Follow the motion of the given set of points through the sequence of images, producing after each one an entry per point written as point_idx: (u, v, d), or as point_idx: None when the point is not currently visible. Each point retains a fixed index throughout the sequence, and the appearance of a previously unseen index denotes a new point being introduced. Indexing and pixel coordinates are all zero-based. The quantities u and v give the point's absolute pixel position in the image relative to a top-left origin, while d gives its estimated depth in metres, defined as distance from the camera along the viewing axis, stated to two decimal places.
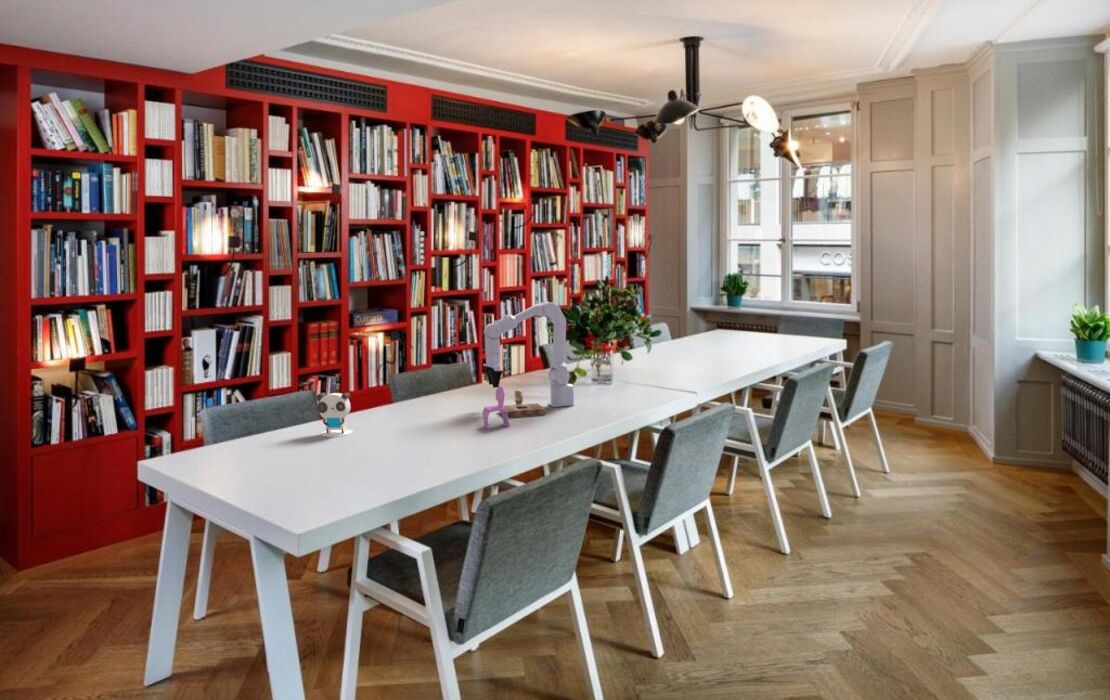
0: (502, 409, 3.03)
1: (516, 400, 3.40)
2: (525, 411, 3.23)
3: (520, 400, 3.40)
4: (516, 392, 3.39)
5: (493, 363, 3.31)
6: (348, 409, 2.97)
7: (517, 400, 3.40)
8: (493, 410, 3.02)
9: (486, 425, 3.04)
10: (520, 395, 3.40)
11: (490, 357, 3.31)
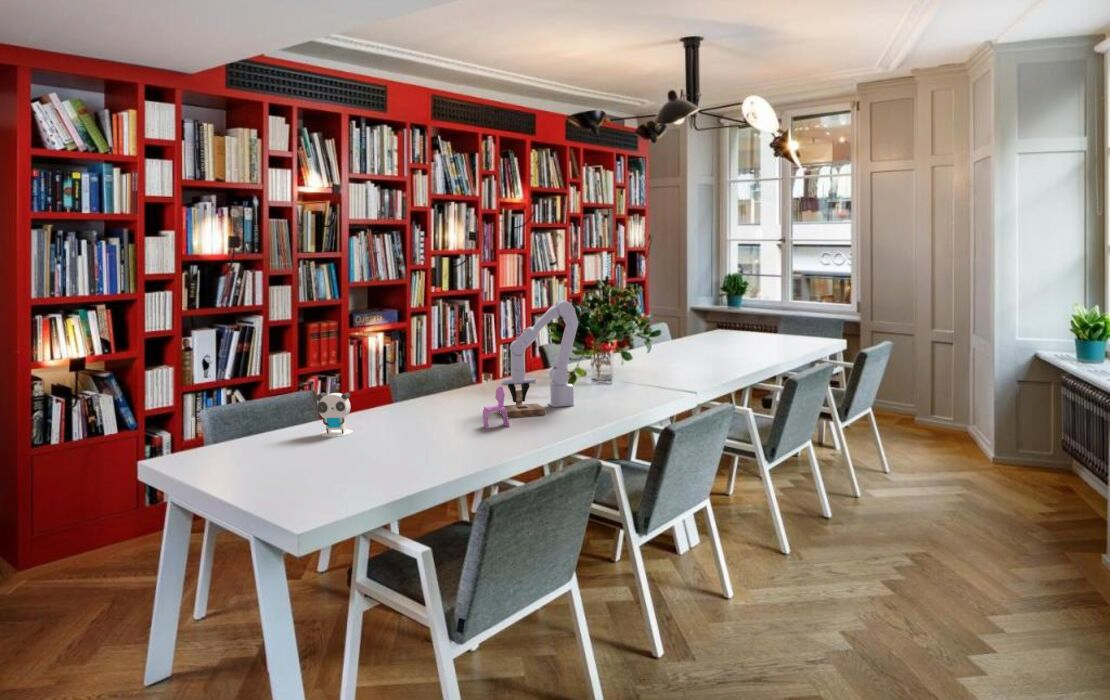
0: (502, 409, 3.03)
1: (516, 400, 3.40)
2: (525, 411, 3.23)
3: (520, 400, 3.40)
4: (516, 392, 3.39)
5: None
6: (348, 409, 2.97)
7: (517, 400, 3.40)
8: (493, 410, 3.02)
9: (486, 425, 3.04)
10: (520, 395, 3.40)
11: None
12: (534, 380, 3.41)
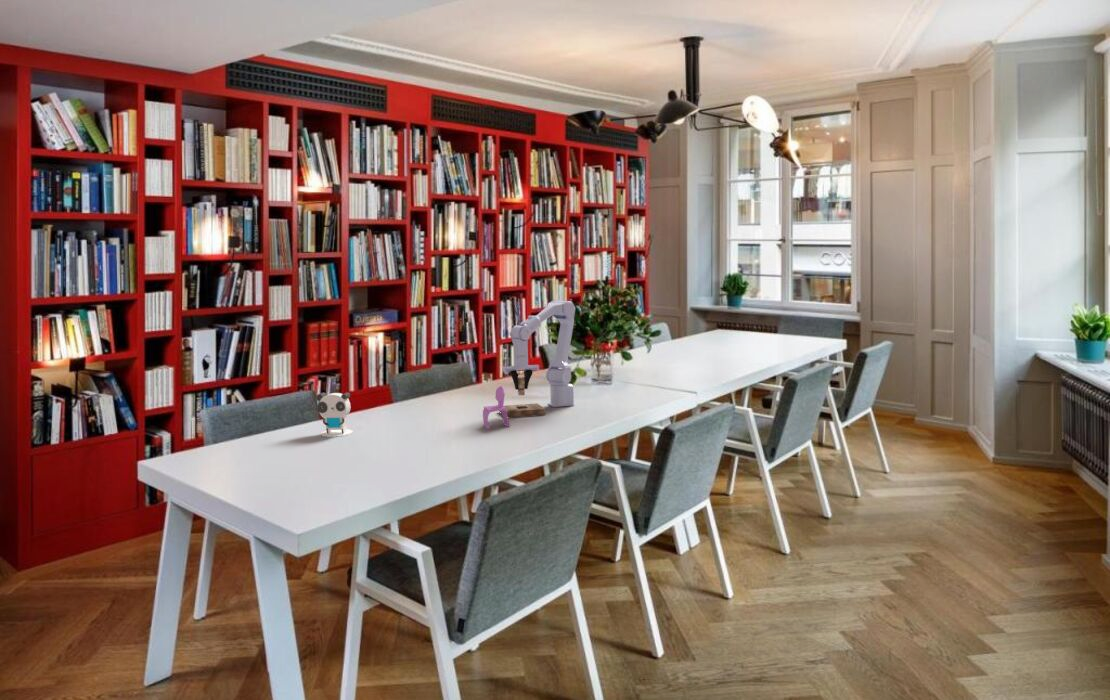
0: (502, 409, 3.03)
1: (518, 387, 3.27)
2: (525, 411, 3.23)
3: (522, 387, 3.27)
4: (518, 379, 3.27)
5: None
6: (348, 409, 2.97)
7: (519, 387, 3.27)
8: (493, 410, 3.02)
9: (486, 425, 3.04)
10: (522, 382, 3.27)
11: None
12: (537, 367, 3.28)
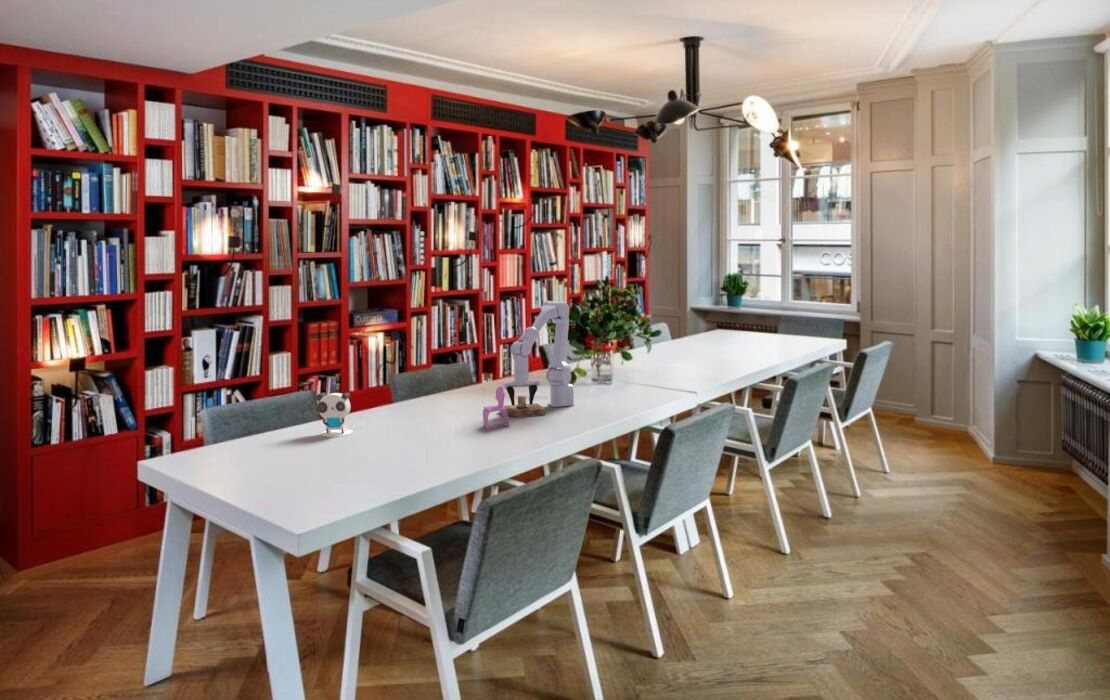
0: (502, 409, 3.03)
1: (519, 406, 3.27)
2: (525, 411, 3.23)
3: (523, 406, 3.27)
4: (519, 398, 3.27)
5: (514, 380, 3.27)
6: (348, 409, 2.97)
7: (520, 406, 3.27)
8: (493, 410, 3.02)
9: (486, 425, 3.04)
10: (523, 401, 3.27)
11: None
12: (538, 382, 3.28)
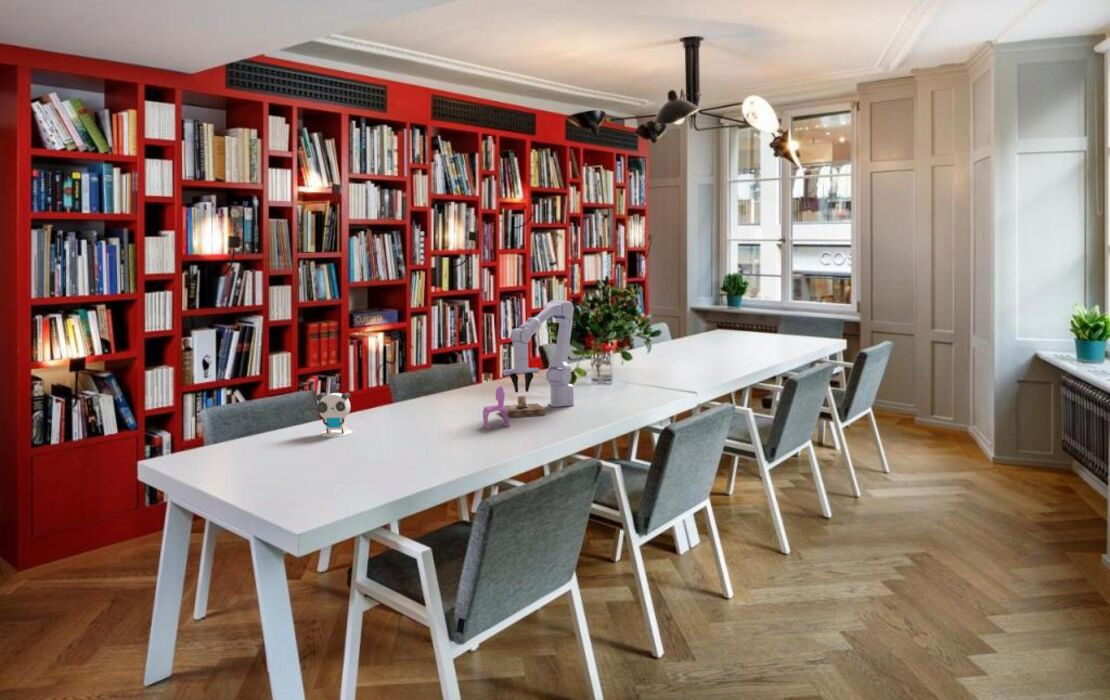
0: (502, 409, 3.03)
1: (519, 406, 3.27)
2: (525, 411, 3.23)
3: (523, 406, 3.27)
4: (519, 398, 3.27)
5: (514, 368, 3.26)
6: (348, 409, 2.97)
7: (520, 406, 3.27)
8: (493, 410, 3.02)
9: (486, 425, 3.04)
10: (523, 401, 3.27)
11: None
12: (538, 369, 3.27)
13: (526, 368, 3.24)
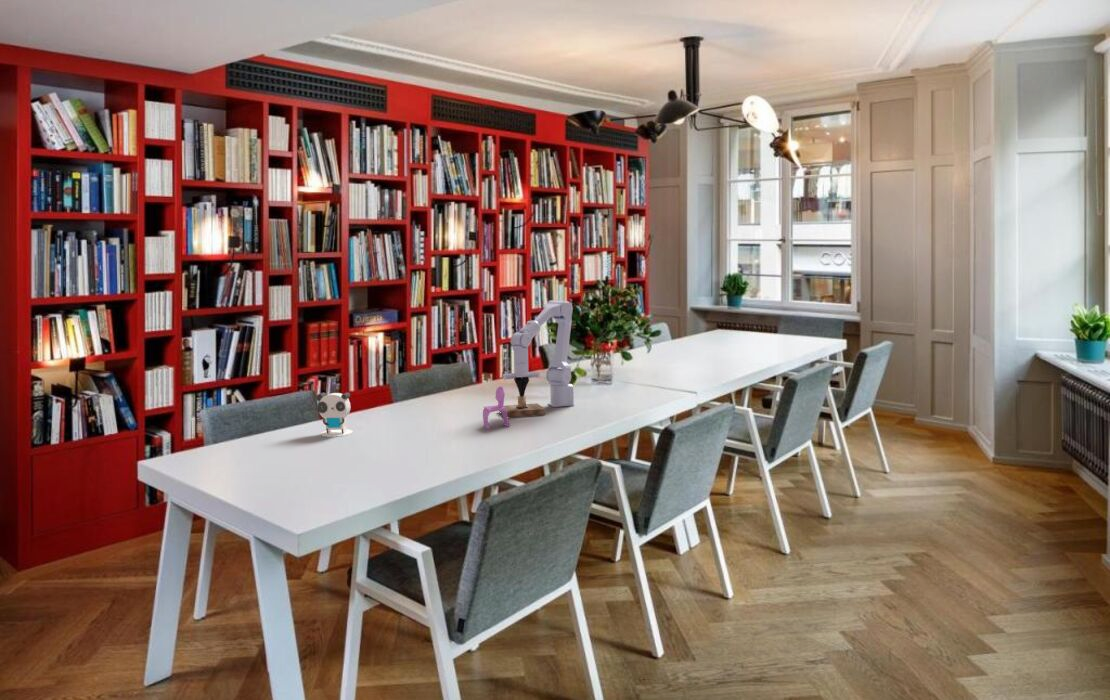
0: (502, 409, 3.03)
1: (519, 406, 3.27)
2: (525, 411, 3.23)
3: (523, 406, 3.27)
4: (519, 398, 3.27)
5: (514, 372, 3.26)
6: (348, 409, 2.97)
7: (520, 406, 3.27)
8: (493, 410, 3.02)
9: (486, 425, 3.04)
10: (523, 401, 3.27)
11: None
12: (538, 374, 3.27)
13: (526, 372, 3.25)
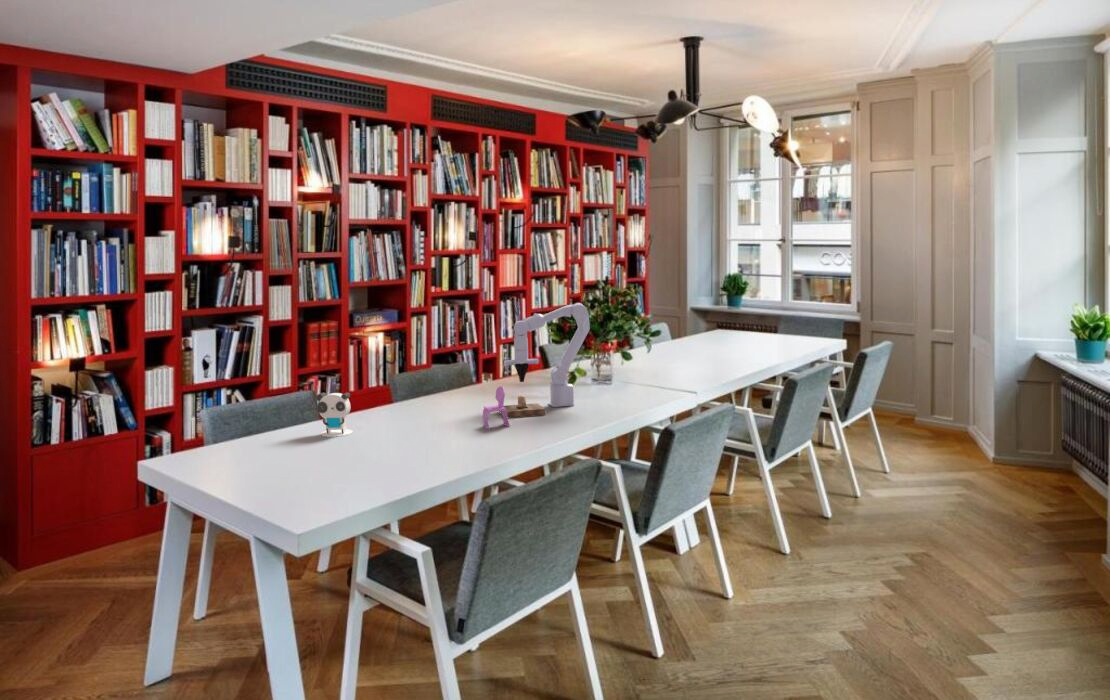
0: (502, 409, 3.03)
1: (519, 406, 3.27)
2: (525, 411, 3.23)
3: (523, 406, 3.27)
4: (519, 398, 3.27)
5: None
6: (348, 409, 2.97)
7: (520, 406, 3.27)
8: (493, 410, 3.02)
9: (486, 425, 3.04)
10: (523, 401, 3.27)
11: None
12: (537, 360, 3.42)
13: (526, 359, 3.40)
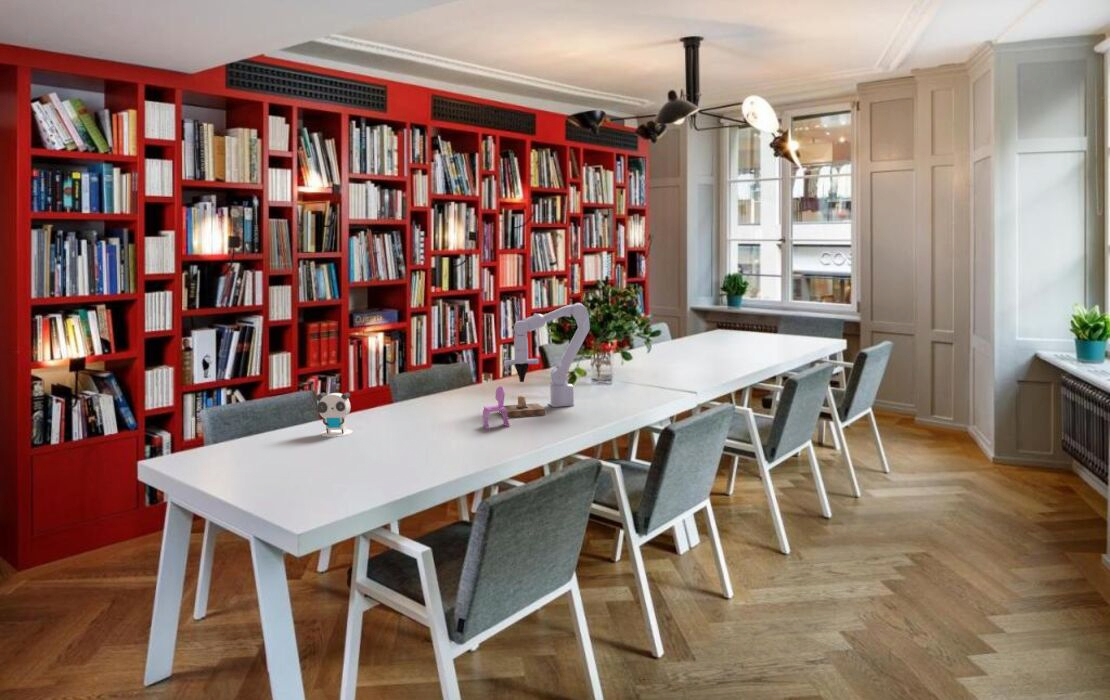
0: (502, 409, 3.03)
1: (519, 406, 3.27)
2: (525, 411, 3.23)
3: (523, 406, 3.27)
4: (519, 398, 3.27)
5: None
6: (348, 409, 2.97)
7: (520, 406, 3.27)
8: (493, 410, 3.02)
9: (486, 425, 3.04)
10: (523, 401, 3.27)
11: None
12: (537, 360, 3.42)
13: (526, 359, 3.40)
